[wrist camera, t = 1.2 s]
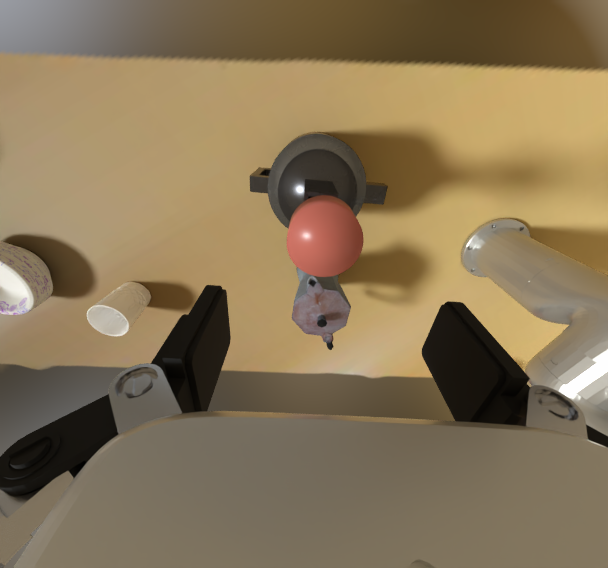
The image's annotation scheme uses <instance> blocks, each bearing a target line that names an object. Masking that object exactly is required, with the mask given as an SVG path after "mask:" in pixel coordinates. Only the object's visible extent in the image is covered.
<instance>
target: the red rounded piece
mask: <svg viewBox="0 0 608 568" xmlns="http://www.w3.org/2000/svg"><path fill="white" fill-rule="evenodd" d="M362 247H363V232H362V229H361V226H360V224H359V222H358V220H357V219H356V217H355V215H354V213H353V211H352V210H351V208H350V207H349V206H348V205H347V204H346V203H345V202H344V201H342V200H341V199H339V198H336V197H333V196H328V195H320V196H315V197H312V198H309V199H307V200H305V201H304V202H303V203H301V204H300V205H299V206H298V207H297V208H296V210H295V211H294V213H293V215H292V217H291V220H290V224H289V230H288V235H287V249H288V253H289V256H290V258H291V259H292V261H293V263H294V264H295V265H296V266H297V267H298V268H299V269H301V270H302V271H303V272H305V273H307V274H310V275H313V276H318V277H330V276H335V275H338V274H340V273H342V272H344V271H346V270H347V269H349V268H350V267H351V266H352V265H353V264H354V263H355V262H356V260H357V259H358V257H359V256H360V253H361V251H362Z"/></svg>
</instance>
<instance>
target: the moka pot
mask: <svg viewBox="0 0 608 568" xmlns="http://www.w3.org/2000/svg"><path fill="white" fill-rule="evenodd" d="M297 273H298V277H299V281H300V284H299V287H298V291H297V294H296V297H295V300H294V307H293V314H292V320H293V321H294V322H295V323H296V324H297V325H298V326H299V327H300V328H301V329H302V330H303V332H305V333H306V334H312V335H320V336H322V338H323V341H324V342H326V343H327V347H328V349H329V350H332V348H333V344H332V341H333V335H332V334H333V333H334V332H336V331H337V330H339V329H341V328H343V327H344V326H346V323H347V319H348V316H349V312H350V308H351V306H350V304H349V302H348V300H347V298H346V296H345V294H344V292H343V290H342V288H341V286H340V284H339V283H338V275H335V276H330V277H318V276H313V275H310V274H307V273H305V272H303V271H302V270H301V269H299V268H298V267H297Z"/></svg>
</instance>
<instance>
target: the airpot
mask: <svg viewBox="0 0 608 568" xmlns="http://www.w3.org/2000/svg"><path fill="white" fill-rule="evenodd" d="M387 187H388V186H386V185H385V184H383V183H371V182H366V176H365V172H364V168H363V165H362V163H361V161H360V159H359V157H358V156H357V154H356V153H355V152H354V151H353V150H352V149H351V148H350V147H349V146H348V145H347V144H345V143H344V142H343V141H341V140H339V139H337V138H334V137H332V136H330V135H327V134H324V133H319V132H311V133H306V134H303V135H300V136H298V137H297V138H295V139H294V140H292V141H291V142H290V143H289V144H288V145H287V146H286V147H285V148H284V149H283V150H282V151H281V153H280V154H279V155H278V156H277V158H276V159H275V161H274V163H273V165H272V167H271V168H258V169H257V170H256V171H255V172H254V173H252V174H251V175H250V191H251V192H260V193H268V196H269V201H270V204H271V207H272V209H273V211H274V213H275V215H276V216H277V218H278V219H279V220H280V222H281V223H282V224H283V225H284V226H285V227H287V228H288V229H289V224H290V220H291V217H292V215H293V213H294V211H295V210H296V208H297V207H298V206H299V205H300V204H301V203H303V202H304V201H305V200H307V199H309V198H312V197H315V196H320V195H328V196H333V197H336V198H339V199H341V200H342V201H344V202H345V203H346V204H347V205H348V206H349V207H350V208H351V210H352V211H353V213H354V215H355V217H356V216H357V214H358V213H359V211H360V209H361V207H362V204H363V203H373V204H384V200H385V196H386V191H387Z"/></svg>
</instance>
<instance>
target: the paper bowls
mask: <svg viewBox="0 0 608 568" xmlns="http://www.w3.org/2000/svg"><path fill="white" fill-rule="evenodd" d="M52 292H53V284H52V280H51V275H50V271H49V269H48V267H47V266H46V264H45V263H44V262H43V261H42V260H41V259H40V258H39V257H38V256H36V255H35V254H34V253H32V252H30V251H28V250H26V249H24V248H21V247H18V246H13V245H11V244H8V243H5V242H2V241H0V313H2V314H8V315H20V314H24V313H27V312H29V311H31V310H32V309H34V308H35V307H37V306H38V305H40V304H41V303H42V302H44V301H45V300H47V299H48V298H49V297H50V296H51V294H52Z"/></svg>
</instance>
